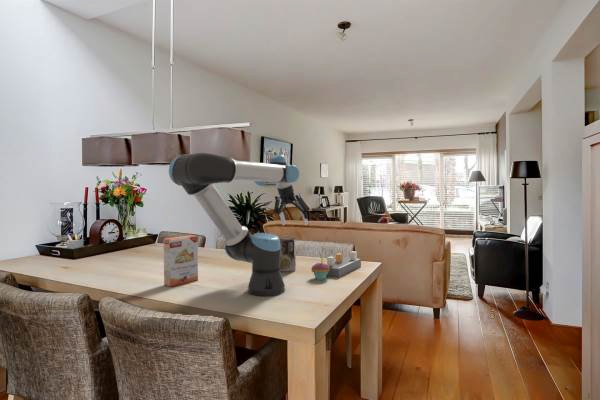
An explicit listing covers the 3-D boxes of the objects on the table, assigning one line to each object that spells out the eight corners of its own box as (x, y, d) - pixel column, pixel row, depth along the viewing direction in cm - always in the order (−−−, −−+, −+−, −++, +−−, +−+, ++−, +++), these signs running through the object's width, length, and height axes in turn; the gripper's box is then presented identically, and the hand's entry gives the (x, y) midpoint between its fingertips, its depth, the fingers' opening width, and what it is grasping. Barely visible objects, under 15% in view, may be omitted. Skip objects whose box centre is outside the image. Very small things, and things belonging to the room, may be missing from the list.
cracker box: (170, 287, 150) (169, 239, 149) (163, 285, 154) (162, 238, 153) (199, 280, 161) (198, 235, 160) (191, 278, 165) (190, 234, 164)
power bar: (339, 277, 164) (339, 268, 164) (322, 274, 169) (322, 266, 169) (361, 266, 186) (361, 258, 186) (345, 264, 191) (345, 256, 191)
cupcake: (317, 275, 169) (316, 250, 168) (332, 277, 164) (332, 252, 164) (308, 279, 161) (308, 253, 161) (324, 282, 157) (324, 255, 157)
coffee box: (296, 268, 182) (295, 237, 182) (294, 271, 176) (294, 239, 175) (279, 268, 183) (278, 237, 183) (276, 271, 177) (276, 239, 176)
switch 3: (354, 260, 182) (354, 252, 182) (350, 259, 183) (350, 252, 183) (356, 259, 185) (356, 251, 184) (352, 258, 186) (352, 251, 186)
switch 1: (331, 266, 169) (331, 258, 169) (327, 265, 171) (327, 257, 170) (334, 264, 172) (334, 256, 171) (330, 264, 173) (329, 256, 173)
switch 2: (339, 262, 177) (339, 254, 177) (335, 262, 178) (335, 254, 178) (342, 261, 179) (342, 253, 179) (338, 260, 181) (338, 253, 180)
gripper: (309, 181, 167) (319, 220, 174) (268, 184, 181) (279, 221, 188) (302, 187, 162) (313, 227, 168) (260, 190, 175) (271, 227, 182)
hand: (295, 224), depth 178 cm, fingers open, 13 cm apart
